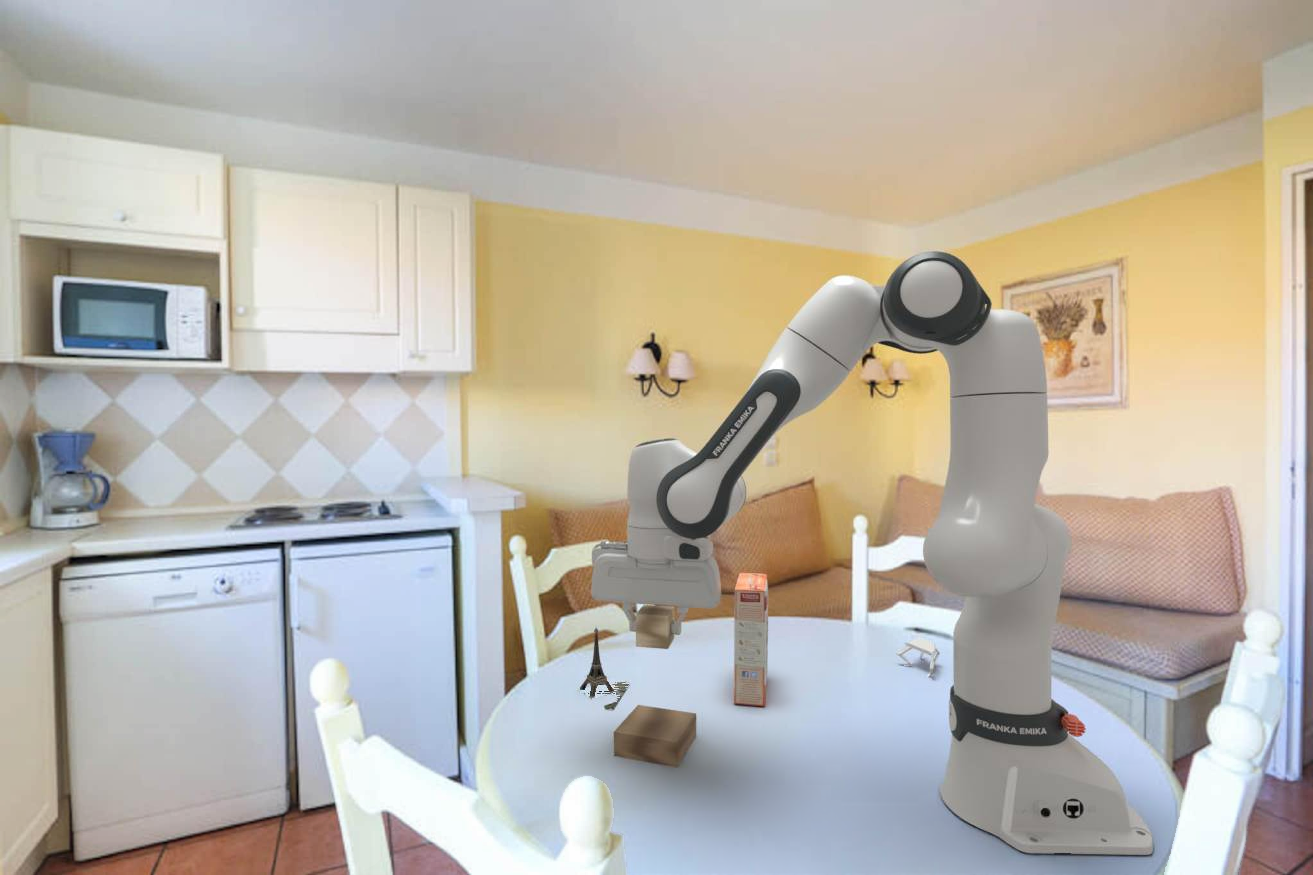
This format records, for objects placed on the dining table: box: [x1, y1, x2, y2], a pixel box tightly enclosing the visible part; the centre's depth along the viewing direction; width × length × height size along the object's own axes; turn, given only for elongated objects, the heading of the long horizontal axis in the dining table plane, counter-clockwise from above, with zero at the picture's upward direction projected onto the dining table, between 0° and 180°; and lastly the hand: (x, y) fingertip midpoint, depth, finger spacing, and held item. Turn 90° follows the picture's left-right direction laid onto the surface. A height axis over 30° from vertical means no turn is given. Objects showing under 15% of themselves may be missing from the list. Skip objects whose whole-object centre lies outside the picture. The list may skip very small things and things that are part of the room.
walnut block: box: [613, 704, 697, 769], centre depth 96 cm, size 10×10×4 cm
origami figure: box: [895, 636, 941, 679], centre depth 127 cm, size 12×8×5 cm
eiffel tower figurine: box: [579, 627, 630, 711], centre depth 117 cm, size 15×10×13 cm
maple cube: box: [635, 604, 675, 650], centre depth 96 cm, size 5×5×5 cm
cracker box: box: [733, 572, 769, 707], centre depth 117 cm, size 14×6×21 cm, turn 168°
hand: (655, 632), depth 96 cm, fingers closed on maple cube, 5 cm apart
